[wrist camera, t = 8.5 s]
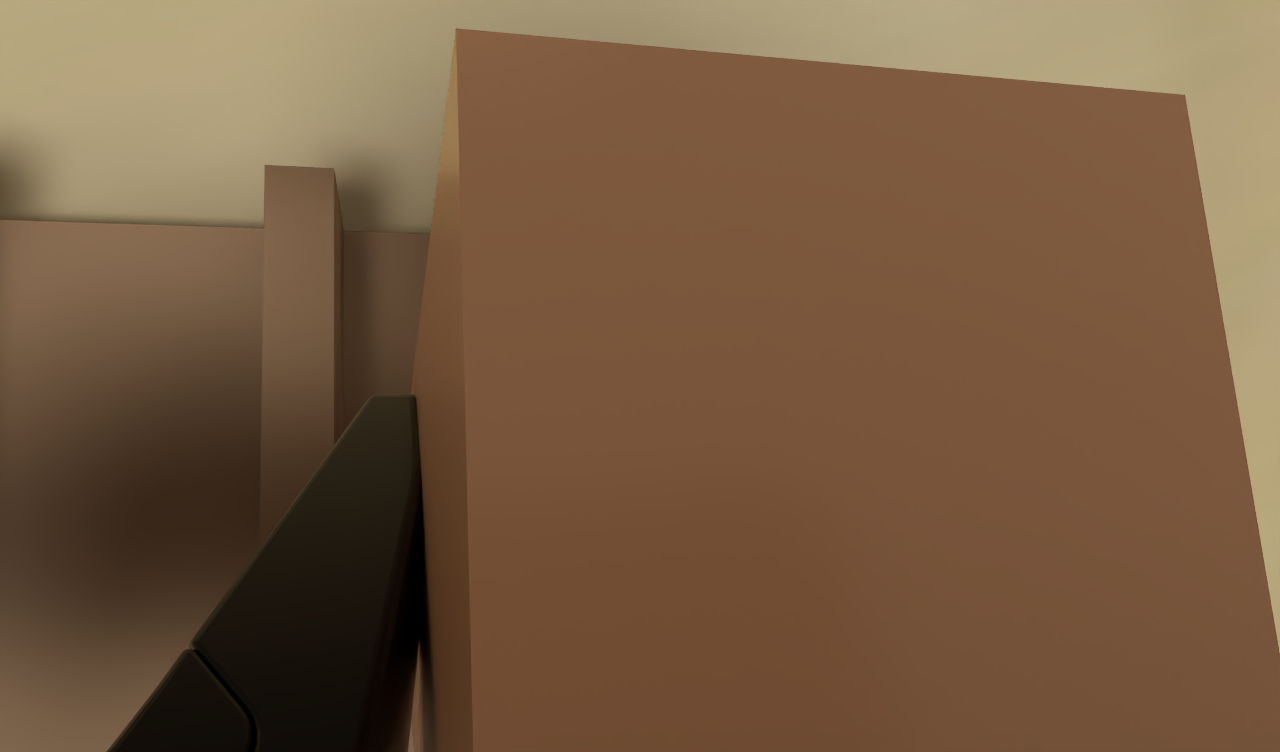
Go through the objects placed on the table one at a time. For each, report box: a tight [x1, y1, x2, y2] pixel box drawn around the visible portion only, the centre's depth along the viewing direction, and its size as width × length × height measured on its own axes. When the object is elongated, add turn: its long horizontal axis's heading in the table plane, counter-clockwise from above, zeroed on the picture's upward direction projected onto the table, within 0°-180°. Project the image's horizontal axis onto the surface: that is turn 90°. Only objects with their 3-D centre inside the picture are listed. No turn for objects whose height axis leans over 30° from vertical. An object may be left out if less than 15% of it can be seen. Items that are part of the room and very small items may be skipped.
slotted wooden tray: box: [0, 165, 430, 752], centre depth 15 cm, size 12×16×4 cm
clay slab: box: [411, 29, 1280, 752], centre depth 9 cm, size 4×3×12 cm
